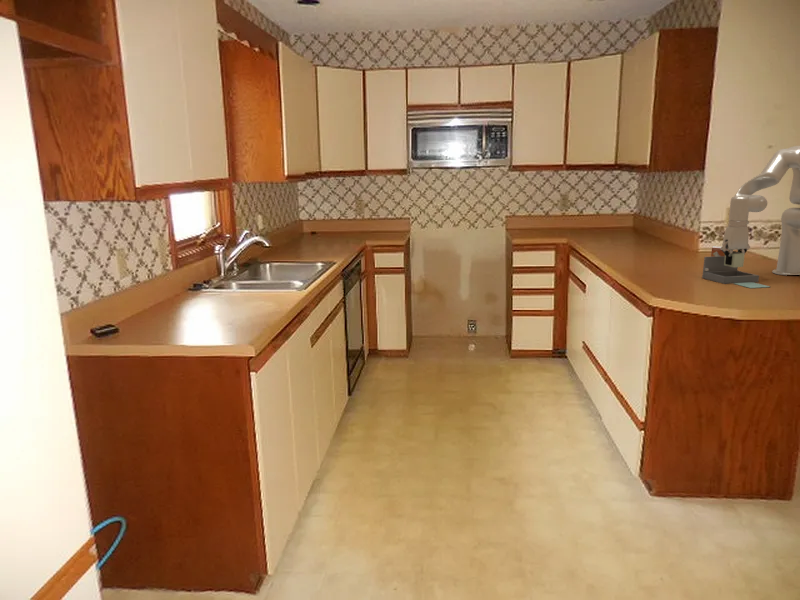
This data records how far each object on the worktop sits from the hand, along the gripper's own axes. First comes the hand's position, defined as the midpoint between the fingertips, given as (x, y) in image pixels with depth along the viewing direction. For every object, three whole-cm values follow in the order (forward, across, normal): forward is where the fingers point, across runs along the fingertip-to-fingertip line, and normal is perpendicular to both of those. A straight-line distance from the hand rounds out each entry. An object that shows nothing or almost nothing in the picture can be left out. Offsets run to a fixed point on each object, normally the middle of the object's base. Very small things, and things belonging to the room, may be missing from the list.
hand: (733, 263), depth 272 cm
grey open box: (+8, +1, 0) cm, 8 cm away
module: (+1, 0, 0) cm, 1 cm away
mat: (+8, +1, +13) cm, 15 cm away
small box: (+8, -5, -15) cm, 18 cm away
